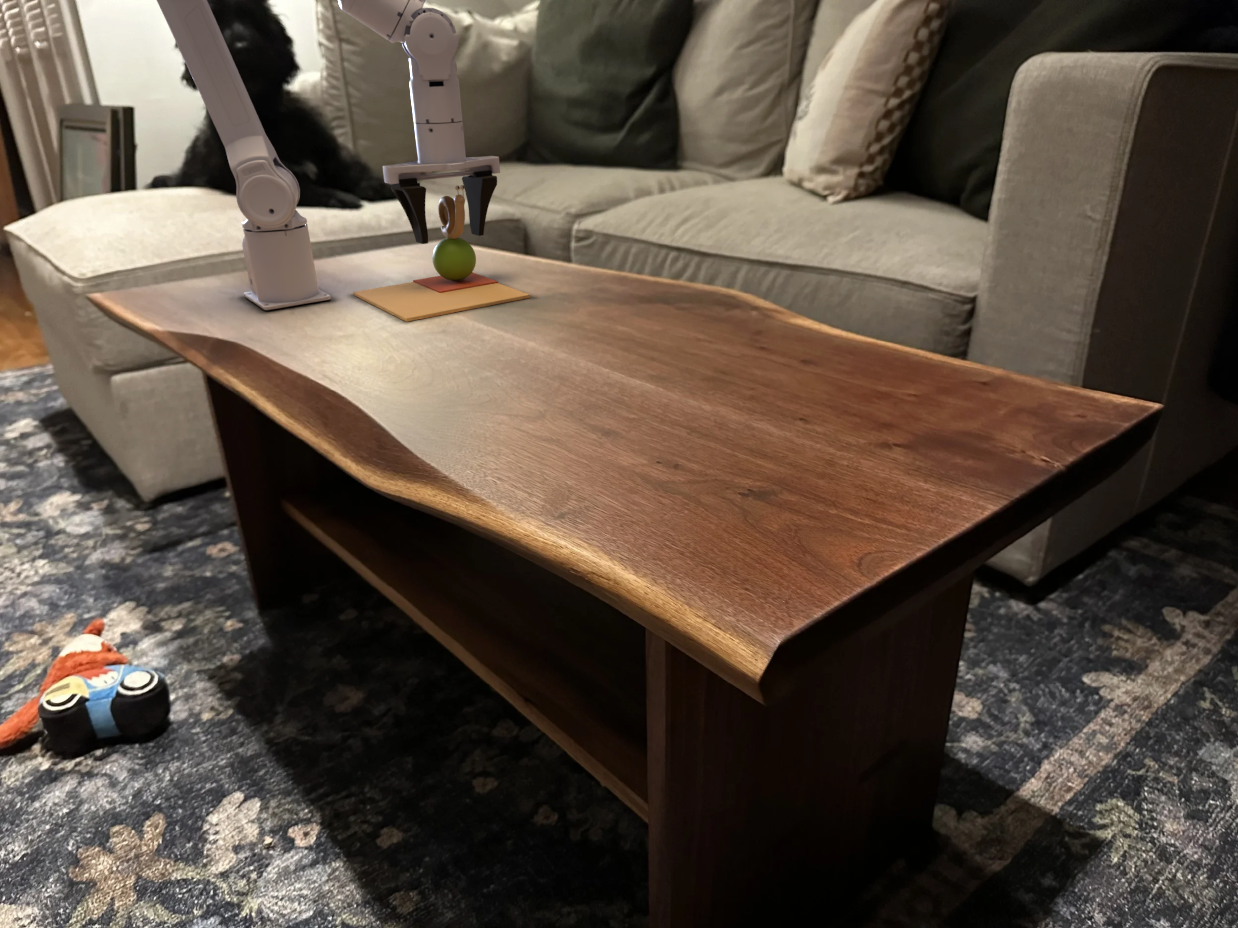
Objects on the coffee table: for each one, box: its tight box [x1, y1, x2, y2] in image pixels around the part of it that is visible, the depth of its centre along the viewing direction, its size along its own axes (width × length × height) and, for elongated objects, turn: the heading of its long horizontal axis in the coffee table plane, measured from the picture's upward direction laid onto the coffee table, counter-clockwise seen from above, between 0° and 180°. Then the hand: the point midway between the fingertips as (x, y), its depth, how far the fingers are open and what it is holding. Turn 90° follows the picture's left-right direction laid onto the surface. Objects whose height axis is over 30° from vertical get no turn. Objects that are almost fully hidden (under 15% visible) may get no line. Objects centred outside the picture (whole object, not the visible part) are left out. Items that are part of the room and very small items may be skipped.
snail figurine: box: [431, 184, 477, 281], centre depth 109 cm, size 5×6×12 cm
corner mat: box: [352, 272, 531, 322], centre depth 106 cm, size 16×16×1 cm
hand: (450, 238), depth 109 cm, fingers open, 7 cm apart
